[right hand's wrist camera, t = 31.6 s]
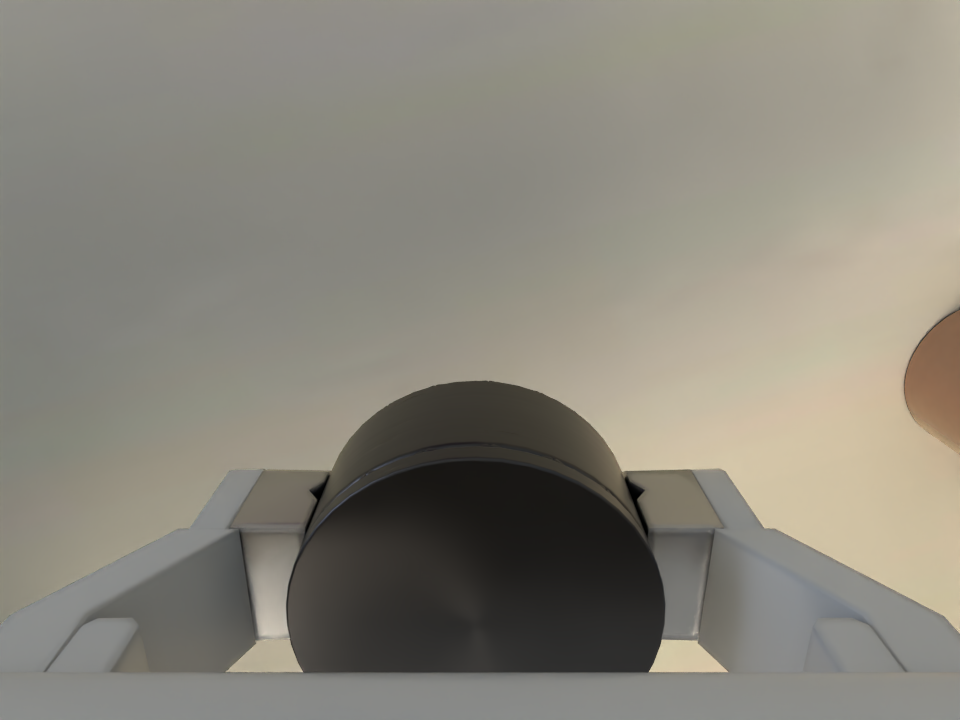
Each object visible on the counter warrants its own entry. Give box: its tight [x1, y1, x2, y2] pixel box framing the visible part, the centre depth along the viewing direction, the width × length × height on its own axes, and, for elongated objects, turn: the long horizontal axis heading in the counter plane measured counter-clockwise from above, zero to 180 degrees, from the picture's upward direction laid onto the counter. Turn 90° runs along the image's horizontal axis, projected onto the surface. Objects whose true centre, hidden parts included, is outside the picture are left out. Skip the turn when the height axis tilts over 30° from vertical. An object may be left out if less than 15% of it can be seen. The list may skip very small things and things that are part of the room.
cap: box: [286, 381, 666, 672], centre depth 9 cm, size 5×4×2 cm
